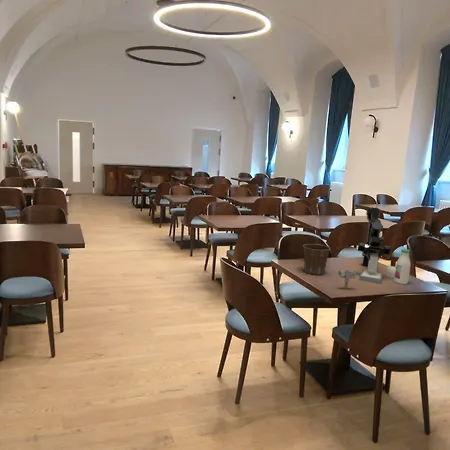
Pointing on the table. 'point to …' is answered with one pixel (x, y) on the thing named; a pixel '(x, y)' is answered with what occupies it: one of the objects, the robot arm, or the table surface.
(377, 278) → the stand
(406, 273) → the milk bottle
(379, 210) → the robot arm
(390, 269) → the white short cylinder
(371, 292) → the table surface
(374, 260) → the housing
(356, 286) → the table surface
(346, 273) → the mechanical component
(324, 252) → the plant pot
